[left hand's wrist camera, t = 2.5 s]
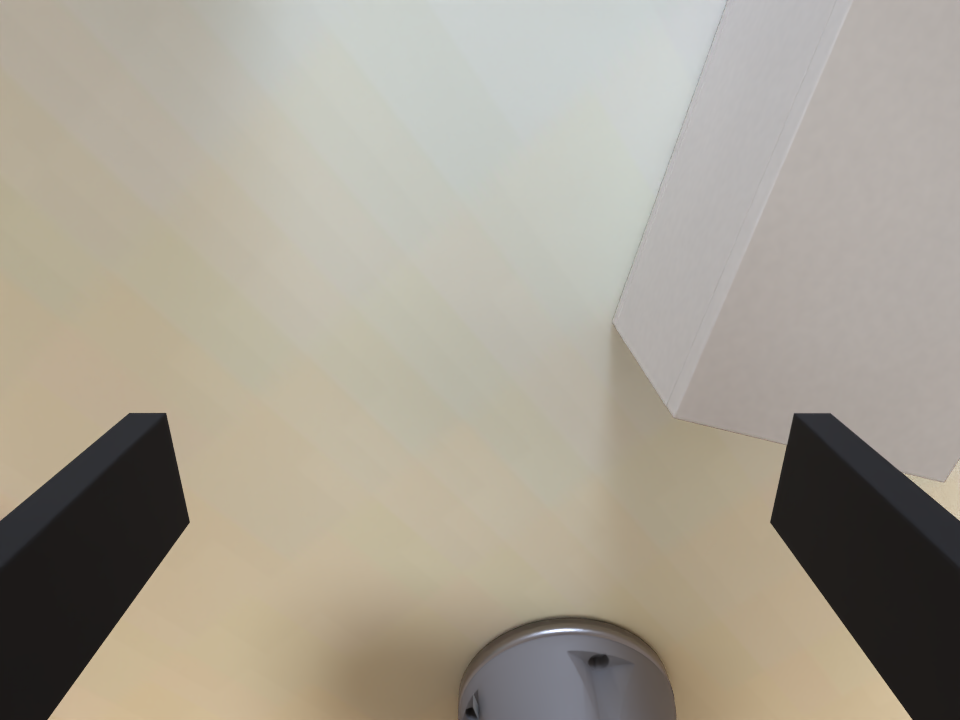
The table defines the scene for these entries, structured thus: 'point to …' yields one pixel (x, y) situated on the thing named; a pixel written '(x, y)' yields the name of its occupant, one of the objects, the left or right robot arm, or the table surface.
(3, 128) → the table surface
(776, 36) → the cabinet
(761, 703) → the table surface
